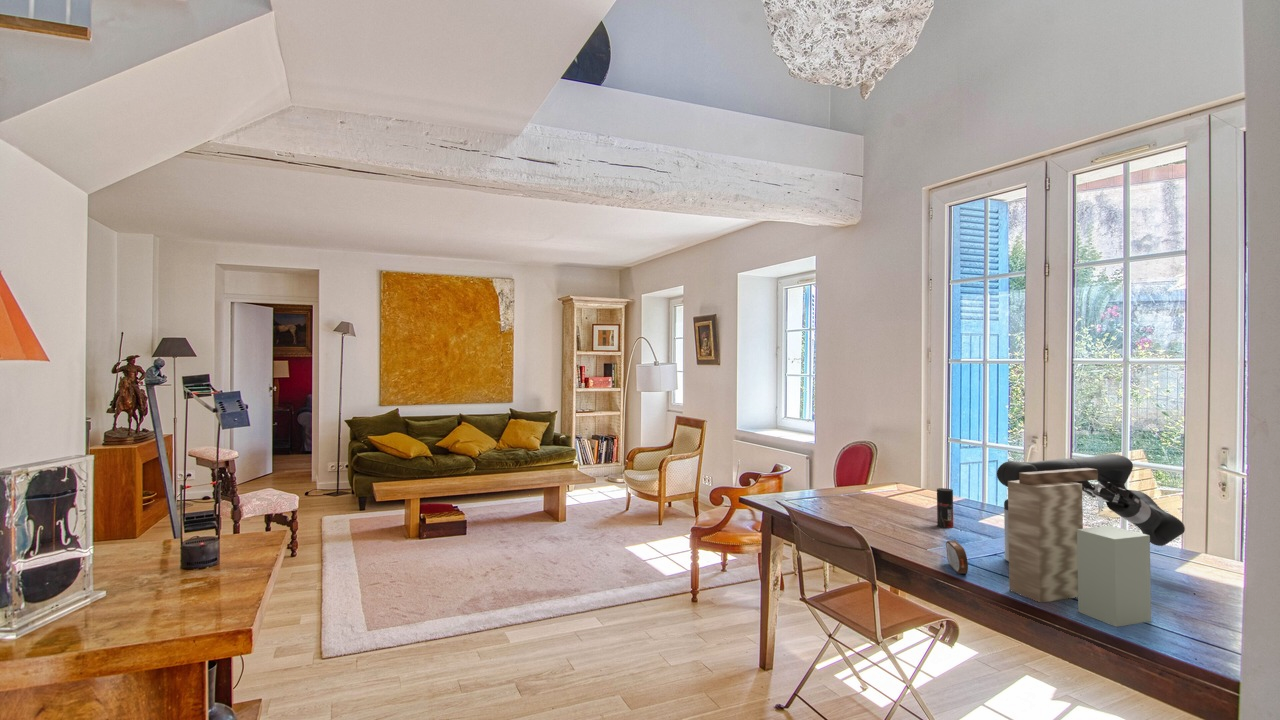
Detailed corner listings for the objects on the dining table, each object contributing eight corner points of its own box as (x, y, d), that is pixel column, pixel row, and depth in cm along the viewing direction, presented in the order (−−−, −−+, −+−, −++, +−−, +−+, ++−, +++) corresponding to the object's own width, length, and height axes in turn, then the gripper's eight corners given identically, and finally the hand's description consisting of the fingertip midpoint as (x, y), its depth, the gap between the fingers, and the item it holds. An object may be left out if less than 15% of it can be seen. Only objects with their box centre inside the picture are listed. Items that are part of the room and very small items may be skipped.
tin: (969, 577, 193) (968, 550, 194) (958, 577, 194) (957, 550, 194) (954, 562, 208) (954, 537, 208) (944, 562, 209) (944, 537, 209)
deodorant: (947, 528, 251) (946, 491, 251) (934, 525, 256) (933, 489, 256) (956, 527, 253) (956, 490, 253) (943, 523, 259) (943, 487, 259)
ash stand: (1051, 584, 187) (1050, 477, 187) (1083, 596, 177) (1082, 483, 177) (1009, 590, 182) (1007, 481, 183) (1039, 602, 173) (1038, 487, 173)
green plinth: (1112, 606, 169) (1110, 525, 169) (1151, 621, 160) (1149, 535, 160) (1078, 611, 166) (1077, 529, 166) (1116, 626, 156) (1114, 539, 157)
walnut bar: (1088, 477, 186) (1087, 467, 186) (1097, 479, 184) (1097, 469, 184) (1019, 483, 179) (1019, 472, 179) (1028, 485, 176) (1028, 474, 176)
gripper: (1109, 490, 196) (1074, 467, 192) (1158, 500, 182) (1121, 475, 179) (1100, 512, 195) (1065, 489, 191) (1149, 523, 181) (1112, 498, 178)
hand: (1093, 482), depth 185 cm, fingers open, 8 cm apart
